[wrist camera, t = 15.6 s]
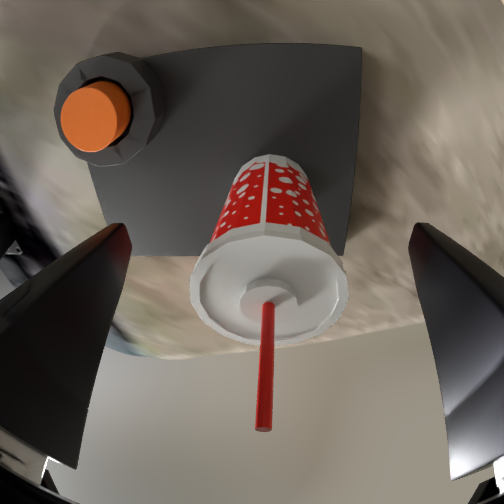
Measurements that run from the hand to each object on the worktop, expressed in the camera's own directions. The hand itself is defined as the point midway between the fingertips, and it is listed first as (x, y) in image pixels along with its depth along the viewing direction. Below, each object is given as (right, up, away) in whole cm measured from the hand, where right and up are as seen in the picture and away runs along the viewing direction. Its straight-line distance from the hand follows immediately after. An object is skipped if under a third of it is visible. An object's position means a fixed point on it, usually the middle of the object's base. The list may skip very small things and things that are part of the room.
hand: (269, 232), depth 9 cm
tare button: (-9, +7, +5) cm, 12 cm away
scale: (-3, +5, +10) cm, 11 cm away
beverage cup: (+1, +3, +10) cm, 10 cm away
